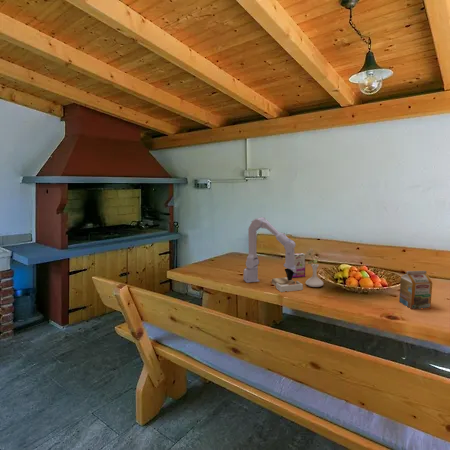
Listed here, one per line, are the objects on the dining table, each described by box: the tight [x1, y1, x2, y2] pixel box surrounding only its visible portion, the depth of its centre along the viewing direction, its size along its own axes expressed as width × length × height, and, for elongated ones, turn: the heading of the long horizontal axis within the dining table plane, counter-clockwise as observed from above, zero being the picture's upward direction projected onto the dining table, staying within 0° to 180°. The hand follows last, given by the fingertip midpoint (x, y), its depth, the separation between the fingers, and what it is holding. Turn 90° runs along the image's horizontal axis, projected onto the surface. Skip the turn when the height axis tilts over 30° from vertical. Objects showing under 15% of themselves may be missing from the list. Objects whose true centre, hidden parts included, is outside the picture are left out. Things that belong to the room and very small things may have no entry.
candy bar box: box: [292, 252, 306, 279], centre depth 228 cm, size 11×5×16 cm, turn 104°
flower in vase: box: [304, 247, 324, 288], centre depth 207 cm, size 13×11×25 cm
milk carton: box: [398, 270, 433, 310], centre depth 172 cm, size 11×11×19 cm
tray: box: [275, 280, 304, 293], centre depth 202 cm, size 15×8×4 cm, turn 104°
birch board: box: [271, 276, 296, 287], centre depth 212 cm, size 12×10×3 cm
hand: (289, 280), depth 208 cm, fingers closed
